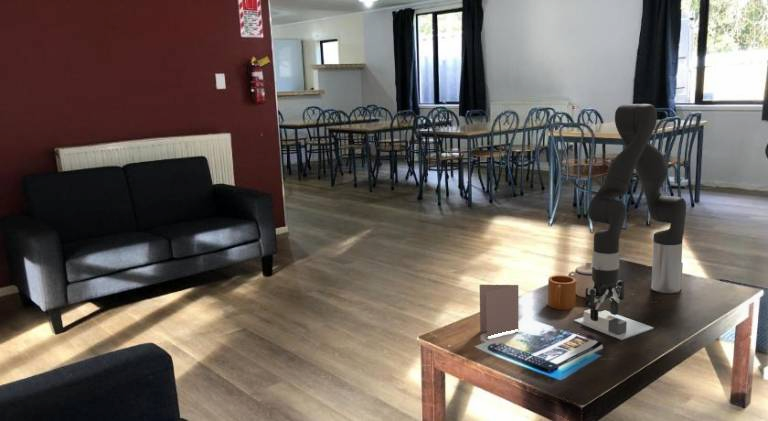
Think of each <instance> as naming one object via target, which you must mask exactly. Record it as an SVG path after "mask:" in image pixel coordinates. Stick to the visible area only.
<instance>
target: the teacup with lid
mask: <svg viewBox="0 0 768 421" xmlns="http://www.w3.org/2000/svg"><path fill="white" fill-rule="evenodd" d="M572 274H573V275H575V279H576V295H577V296H579V297H580V298H585V294H586V288H593V287H594V281H593V280H592V261H586V262H585V264H582V265H578V266H576V268H575V270H574V271H570V272H569V273H568V274H567V276H570V277H572ZM596 298H598V297H597V296H596Z"/></svg>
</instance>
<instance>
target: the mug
mask: <svg viewBox="0 0 768 421" xmlns="http://www.w3.org/2000/svg"><path fill="white" fill-rule="evenodd" d="M547 284H548V285H547V287H548V288H547V305H548V306H549V307H550V308H553V309H556V310H570V309H574V308H575V307H576V297H577V296H576V295H577V294H576V277H573V276H571V277H570V276H568V275H561V274H556V275H552V276H551V275H550V276H549V277H548V283H547Z"/></svg>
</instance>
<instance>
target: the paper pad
mask: <svg viewBox="0 0 768 421" xmlns="http://www.w3.org/2000/svg"><path fill="white" fill-rule="evenodd" d="M600 312H602V313H605V314H607V315H610V316H613V317H616V318H618V319H621V320H624V321H627V324H626V333H623V334H620V335H617V334H614V333H612V332H609V331H607V330H604V329H601V328H599V327H596V326H594V325H591V324H589V323H586V322H583V320H584V316H581V317H579V318H576V319H574V320H573V321H574V322H575V323H578V324H580V325H583V326H586V327H588V328H591V329H593V330H596V331H598V332H601V333H603V334H605V335H608V336H611V337H613V338H616V339H619V340H621V341H623V340H625V339H628V338H631V337H634V336H637V335H640V334H643V333H645V332H648V331H652V330H653V329H654V327H653V326H650V325H647V324H645V323H643V322H639V321H637V320H633V319H631V318H627V317H625V316H623V315H621V314H617V315H613V314H611V313H610V310H609V311H608V310H602V311H600Z"/></svg>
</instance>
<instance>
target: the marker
mask: <svg viewBox="0 0 768 421" xmlns="http://www.w3.org/2000/svg"><path fill="white" fill-rule="evenodd" d="M582 315H583V317H584V320H583V322H586V323H589V324H591V325H594V326H596V327H599V328H601V329H604V330H607V331H609V332H612V333H614V334H617V335H620V334H623V333H626V324H627V321H624V320H621V319H618V318H616V317H613V316H610V315H607V314H605V313H602V312H601V311H599V310H598V321H593V320H591V318H590V308H588V309H586V310H583V314H582Z"/></svg>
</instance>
